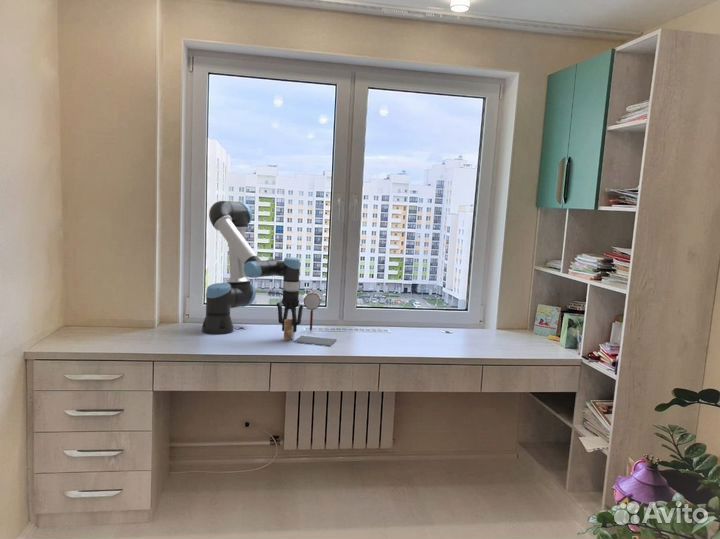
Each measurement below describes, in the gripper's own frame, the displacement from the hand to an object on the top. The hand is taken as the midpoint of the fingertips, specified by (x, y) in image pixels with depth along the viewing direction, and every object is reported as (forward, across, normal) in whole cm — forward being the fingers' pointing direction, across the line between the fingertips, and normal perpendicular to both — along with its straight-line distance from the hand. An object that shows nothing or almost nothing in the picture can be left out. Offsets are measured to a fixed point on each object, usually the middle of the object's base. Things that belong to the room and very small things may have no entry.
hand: (289, 338), depth 251 cm
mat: (+1, +13, +1) cm, 13 cm away
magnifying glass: (+1, +5, +20) cm, 21 cm away
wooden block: (+1, 0, 0) cm, 1 cm away
